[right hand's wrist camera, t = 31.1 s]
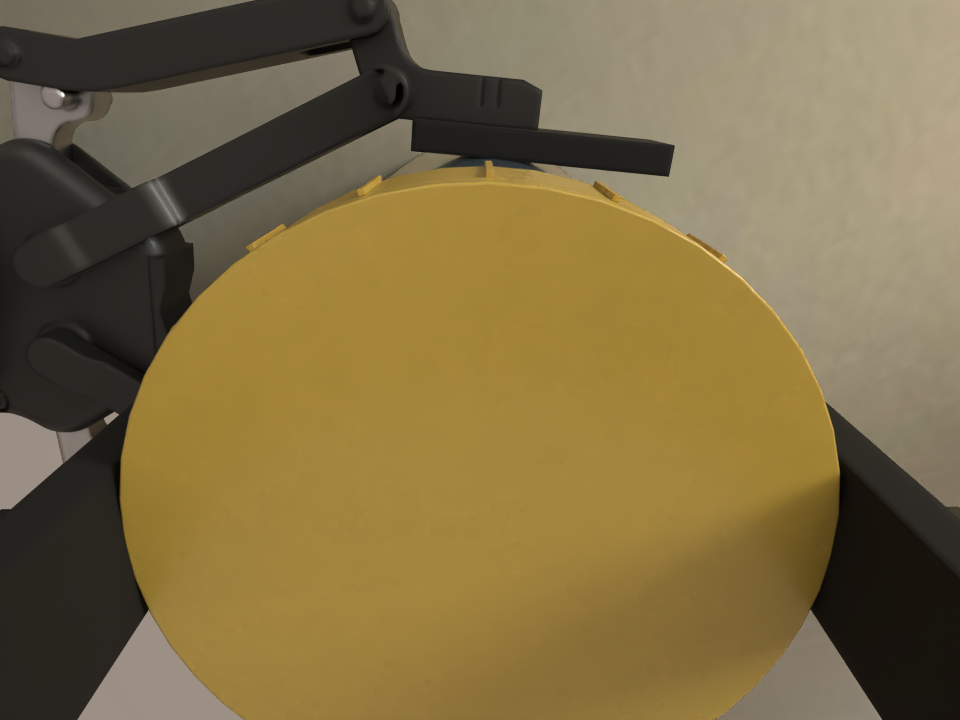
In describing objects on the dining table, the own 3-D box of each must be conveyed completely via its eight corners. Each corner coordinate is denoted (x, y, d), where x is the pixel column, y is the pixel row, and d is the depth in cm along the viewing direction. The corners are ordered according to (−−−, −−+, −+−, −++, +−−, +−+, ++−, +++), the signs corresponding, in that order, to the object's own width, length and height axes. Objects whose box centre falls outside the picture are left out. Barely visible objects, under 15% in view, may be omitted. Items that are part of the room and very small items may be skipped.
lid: (57, 463, 12) (-28, 536, 10) (492, -2, 9) (496, -29, 7) (471, 772, 15) (470, 878, 13) (897, 480, 12) (980, 556, 10)
